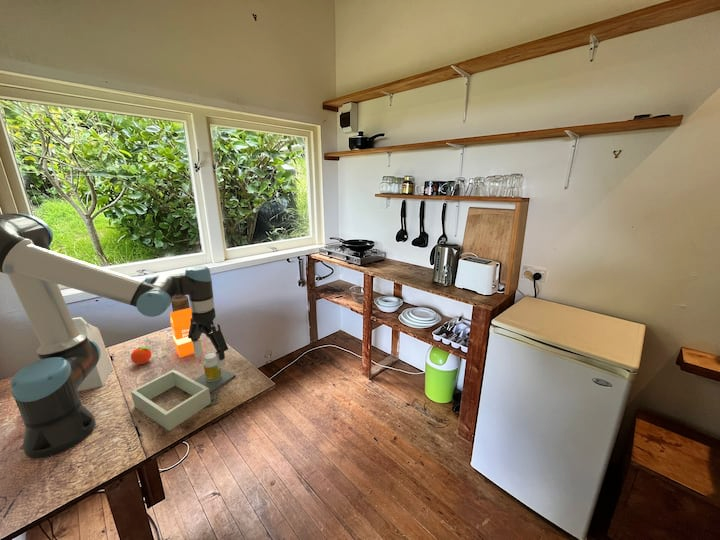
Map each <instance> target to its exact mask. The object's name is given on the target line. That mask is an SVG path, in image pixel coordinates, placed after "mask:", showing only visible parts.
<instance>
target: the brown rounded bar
mask: <svg viewBox="0 0 720 540" xmlns="http://www.w3.org/2000/svg"><path fill="white" fill-rule="evenodd" d="M171 308H172V312H175V311H179V310H183V309H187V308H191V307H190V300H189V296H188V295H185V296H176V297H174V298H173V300H172V302H171Z"/></svg>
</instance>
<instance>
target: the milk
mask: <svg viewBox="0 0 720 540" xmlns="http://www.w3.org/2000/svg"><path fill="white" fill-rule="evenodd" d="M72 319H73V322H74V324H75V326H76V329H77V331H78V332H79V333H82V334H85V335H86V336H87V338H88V339H90V341H94V342H95V343H96V344H97V345H98V346H99V348H100V352H101V354H100V359H99V361H98V363H97V365H96V367H95V368H94V369H93V370H92V371H91V372H90V373H89V375H88V376H87V377H86V378H85V379H84V381H83V382H82V383H81V384H80V385H79V387H78V388H77V391H78V392H81V391H86V390H90V389H95V388H99V387H103V386H104V385H105V383H106V382H107V380H108V378H109V376H110V375H111V373H112V371H113V370H114V368H113V366H112V362H111V360H110V357H109V354H108V350H107V348H106V346H105V343H104V340H103V338H102V334H101V332H100V331H101V330H100V329H99V328H98V327H97V326H95V325H92V324H90V323H88V322H87V321H86V320H85V319H84V318H83V317H82V316H78V317H72Z"/></svg>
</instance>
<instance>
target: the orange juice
mask: <svg viewBox="0 0 720 540" xmlns="http://www.w3.org/2000/svg"><path fill="white" fill-rule="evenodd" d="M191 312H192V311H191V307H190V308H187V309H183V310H179V311H175V312H173V311H171V312H169V318H170V320H169V321H170V327H171V331H172V338H173V341H174V347H175V351H176V354H177V355H178V357H179V358H182V357H187V356H189V355H192V354H194V347H193V341H191V338H190V339H189V338H188V334H189V329H190V324H191V321H190V319H191V318H192V314H191ZM199 339H200V340H201V337H200V338H199ZM199 339H198V340H199Z"/></svg>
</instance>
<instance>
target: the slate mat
mask: <svg viewBox="0 0 720 540" xmlns="http://www.w3.org/2000/svg"><path fill="white" fill-rule="evenodd" d="M220 370H221V378H220V379H218V380H217V381H214V382H208V381H206V377H205V373H204V374H202V375H200V376H198V377H197V378H195V379H193V380H194V381H196V382H198V383H200V384H202V385H204V386H205V387H207V388H209V393H213V392H214V391H215V390H218V388H220V387H222V386H223V385H225V384H226V383H228V382H229V381H231V380H233V379H234V378H235V377H234V376H236V374H235V373H232V372H230V371H228V370H226V369H224V368H223V367H221V368H220ZM233 377H234V378H233ZM232 378H233V379H232ZM230 379H231V380H230Z"/></svg>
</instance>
